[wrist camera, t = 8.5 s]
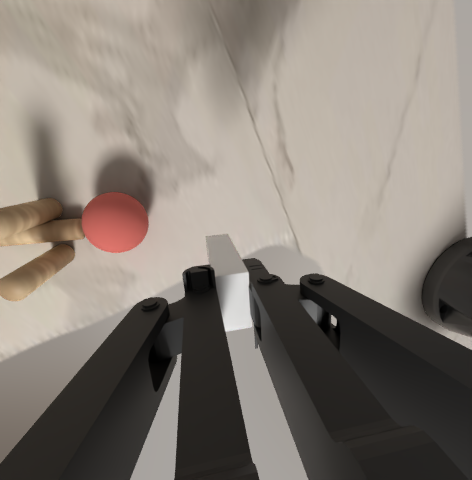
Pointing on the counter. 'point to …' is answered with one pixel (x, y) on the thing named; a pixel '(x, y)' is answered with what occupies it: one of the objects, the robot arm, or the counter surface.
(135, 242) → the ball
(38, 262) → the pin
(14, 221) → the pin
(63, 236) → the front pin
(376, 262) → the counter surface
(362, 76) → the counter surface
